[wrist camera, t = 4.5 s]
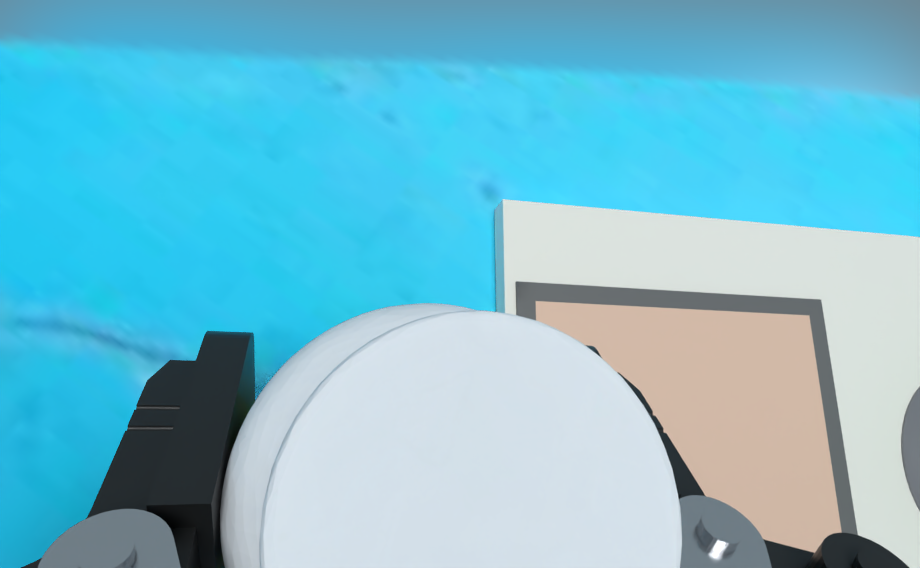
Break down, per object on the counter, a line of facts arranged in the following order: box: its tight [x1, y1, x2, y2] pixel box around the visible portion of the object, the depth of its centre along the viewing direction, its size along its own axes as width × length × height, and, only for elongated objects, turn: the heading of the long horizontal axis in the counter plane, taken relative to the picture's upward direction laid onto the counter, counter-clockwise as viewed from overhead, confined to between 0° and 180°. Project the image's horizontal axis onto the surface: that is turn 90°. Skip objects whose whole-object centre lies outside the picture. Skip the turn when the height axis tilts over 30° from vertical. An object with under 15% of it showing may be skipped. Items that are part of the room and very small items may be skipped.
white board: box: [495, 199, 920, 568], centre depth 17 cm, size 18×14×1 cm
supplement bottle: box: [220, 303, 682, 568], centre depth 10 cm, size 5×5×10 cm
